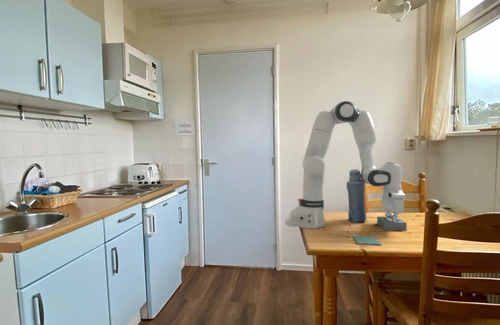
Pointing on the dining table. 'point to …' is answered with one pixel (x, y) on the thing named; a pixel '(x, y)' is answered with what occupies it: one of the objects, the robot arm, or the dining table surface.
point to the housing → (391, 224)
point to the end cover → (389, 217)
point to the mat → (366, 240)
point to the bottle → (356, 197)
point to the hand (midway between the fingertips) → (391, 217)
